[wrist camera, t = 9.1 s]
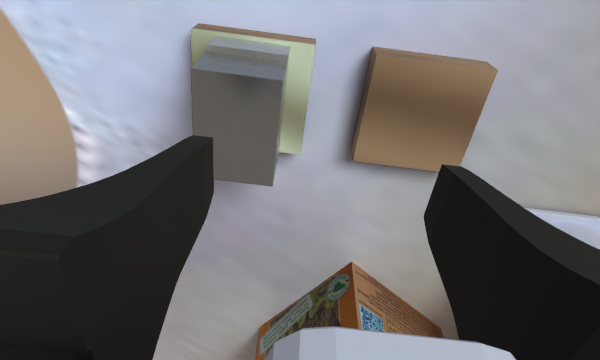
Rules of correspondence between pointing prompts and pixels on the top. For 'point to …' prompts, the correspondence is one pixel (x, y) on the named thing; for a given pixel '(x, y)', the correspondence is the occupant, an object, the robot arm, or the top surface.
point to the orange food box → (346, 310)
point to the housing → (241, 106)
